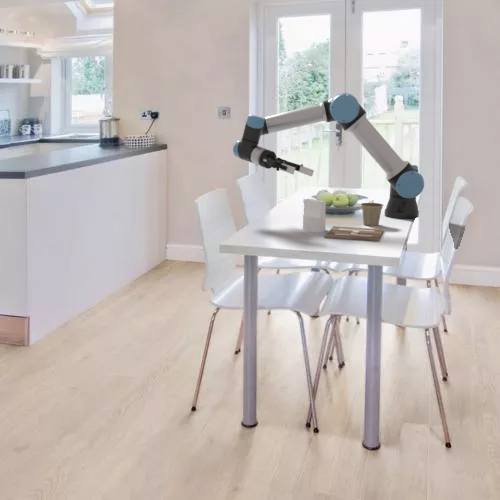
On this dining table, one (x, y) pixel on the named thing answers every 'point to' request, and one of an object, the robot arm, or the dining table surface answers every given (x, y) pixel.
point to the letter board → (354, 233)
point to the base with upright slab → (314, 215)
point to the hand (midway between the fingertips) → (303, 172)
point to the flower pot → (371, 213)
